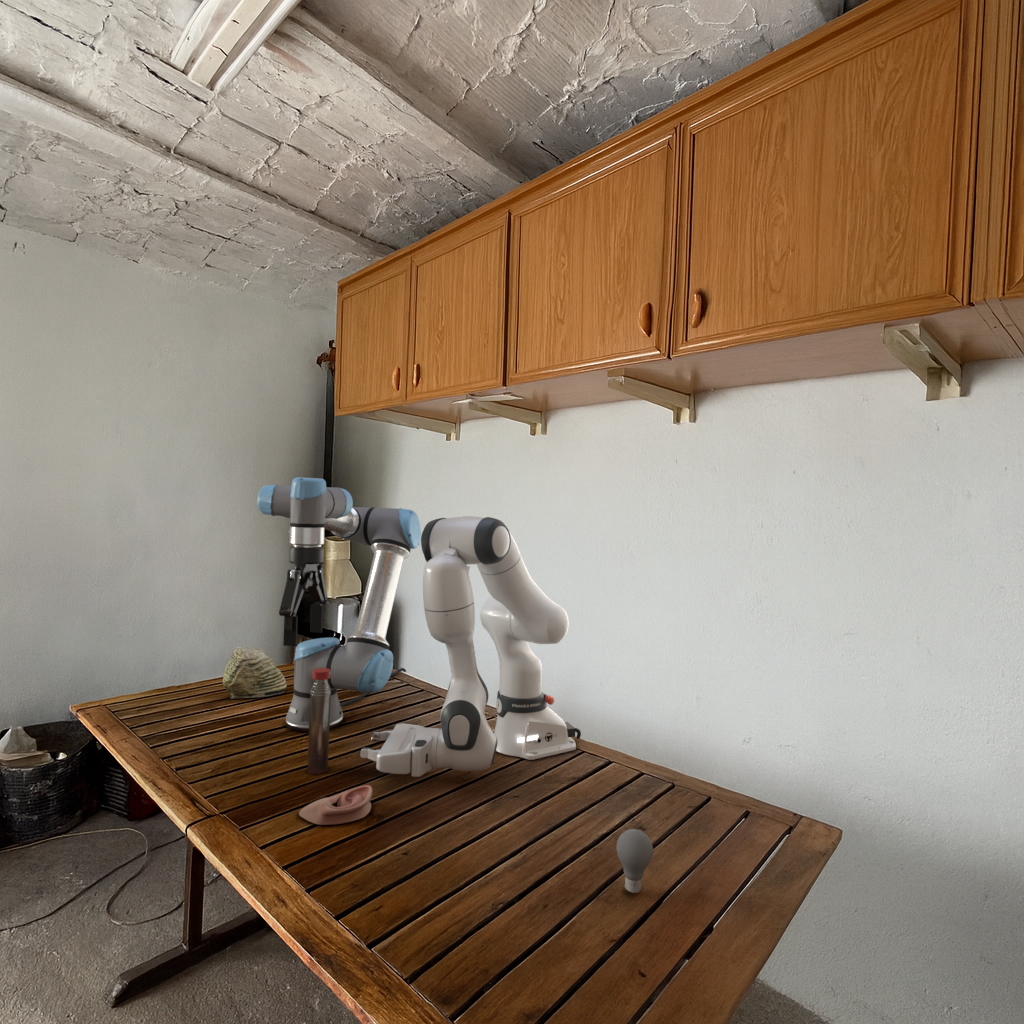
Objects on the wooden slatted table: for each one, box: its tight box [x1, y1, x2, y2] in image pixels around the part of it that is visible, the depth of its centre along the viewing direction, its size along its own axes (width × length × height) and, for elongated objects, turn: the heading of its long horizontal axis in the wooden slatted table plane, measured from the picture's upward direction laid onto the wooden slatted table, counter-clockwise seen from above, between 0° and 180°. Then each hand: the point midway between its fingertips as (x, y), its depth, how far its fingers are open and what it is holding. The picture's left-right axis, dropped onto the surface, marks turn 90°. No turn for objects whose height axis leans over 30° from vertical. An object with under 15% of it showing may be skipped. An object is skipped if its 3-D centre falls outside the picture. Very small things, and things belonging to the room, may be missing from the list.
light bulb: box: [615, 828, 654, 894], centre depth 106 cm, size 6×6×10 cm
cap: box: [312, 668, 330, 680], centre depth 146 cm, size 4×4×2 cm
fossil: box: [222, 646, 288, 699], centre depth 198 cm, size 9×18×15 cm, turn 132°
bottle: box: [306, 679, 331, 775], centre depth 146 cm, size 5×5×23 cm
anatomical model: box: [298, 784, 373, 826], centre depth 127 cm, size 13×4×12 cm
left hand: (303, 638), depth 144 cm, fingers open, 13 cm apart
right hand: (366, 744), depth 146 cm, fingers open, 8 cm apart
